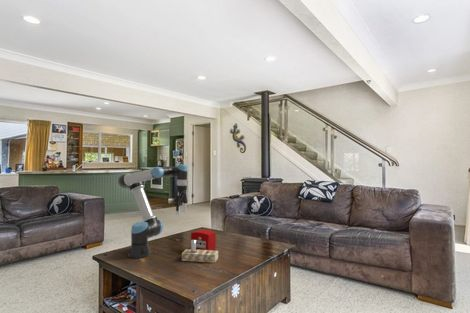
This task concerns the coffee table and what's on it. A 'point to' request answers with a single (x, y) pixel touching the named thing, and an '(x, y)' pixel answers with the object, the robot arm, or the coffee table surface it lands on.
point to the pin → (193, 246)
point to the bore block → (200, 255)
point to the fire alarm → (204, 239)
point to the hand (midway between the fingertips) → (180, 213)
